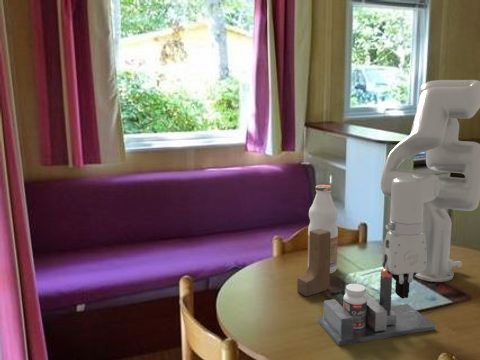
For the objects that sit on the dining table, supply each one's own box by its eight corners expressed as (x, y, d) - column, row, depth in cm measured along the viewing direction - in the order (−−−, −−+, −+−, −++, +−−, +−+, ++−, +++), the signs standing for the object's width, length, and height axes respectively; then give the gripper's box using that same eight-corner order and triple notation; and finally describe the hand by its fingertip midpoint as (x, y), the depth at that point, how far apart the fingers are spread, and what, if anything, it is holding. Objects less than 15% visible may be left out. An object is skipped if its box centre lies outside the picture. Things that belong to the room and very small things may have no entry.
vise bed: (407, 307, 132) (408, 286, 131) (435, 329, 121) (436, 306, 120) (318, 321, 126) (318, 299, 125) (338, 345, 115) (339, 321, 113)
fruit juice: (307, 274, 156) (307, 189, 150) (308, 263, 165) (309, 182, 159) (337, 275, 154) (338, 189, 148) (336, 264, 163) (338, 183, 157)
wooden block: (306, 297, 140) (307, 237, 136) (296, 291, 144) (297, 233, 140) (330, 289, 145) (331, 231, 141) (319, 284, 148) (320, 227, 144)
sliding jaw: (379, 309, 129) (381, 261, 126) (400, 327, 119) (403, 276, 117) (355, 312, 127) (357, 264, 124) (375, 331, 118) (377, 279, 115)
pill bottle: (353, 332, 118) (354, 294, 116) (337, 322, 123) (338, 285, 121) (370, 325, 121) (372, 288, 119) (354, 316, 126) (356, 280, 124)
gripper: (386, 234, 114) (383, 306, 118) (441, 228, 118) (436, 298, 122) (370, 225, 121) (367, 293, 125) (422, 219, 125) (418, 286, 129)
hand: (401, 295), depth 124 cm, fingers closed
